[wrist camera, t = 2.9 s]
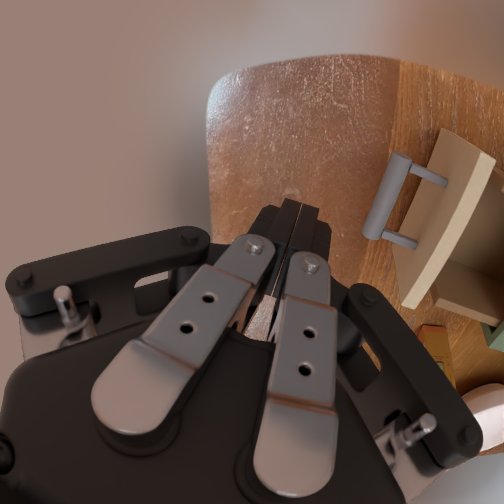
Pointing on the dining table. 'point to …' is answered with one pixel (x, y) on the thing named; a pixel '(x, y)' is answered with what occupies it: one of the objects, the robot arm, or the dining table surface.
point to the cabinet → (494, 336)
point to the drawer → (447, 229)
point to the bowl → (488, 412)
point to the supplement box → (438, 348)
